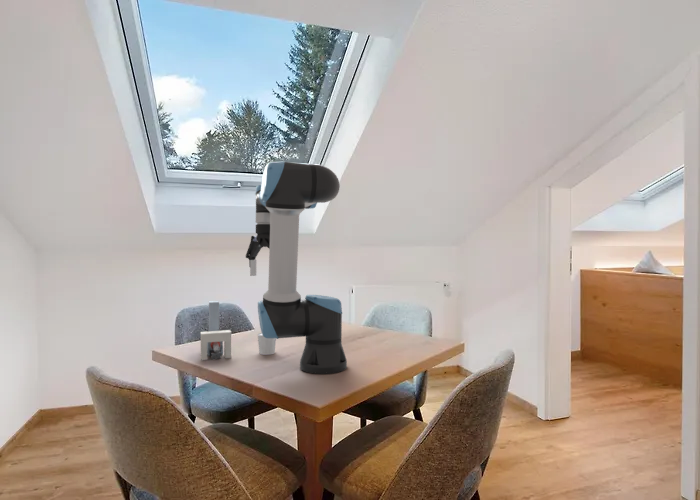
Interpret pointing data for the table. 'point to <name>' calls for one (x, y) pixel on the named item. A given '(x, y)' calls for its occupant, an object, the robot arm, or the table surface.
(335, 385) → the table surface
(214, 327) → the carriage
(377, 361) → the table surface
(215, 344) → the plunger
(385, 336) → the table surface
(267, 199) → the robot arm
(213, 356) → the rail
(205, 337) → the arch
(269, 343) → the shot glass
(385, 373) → the table surface
